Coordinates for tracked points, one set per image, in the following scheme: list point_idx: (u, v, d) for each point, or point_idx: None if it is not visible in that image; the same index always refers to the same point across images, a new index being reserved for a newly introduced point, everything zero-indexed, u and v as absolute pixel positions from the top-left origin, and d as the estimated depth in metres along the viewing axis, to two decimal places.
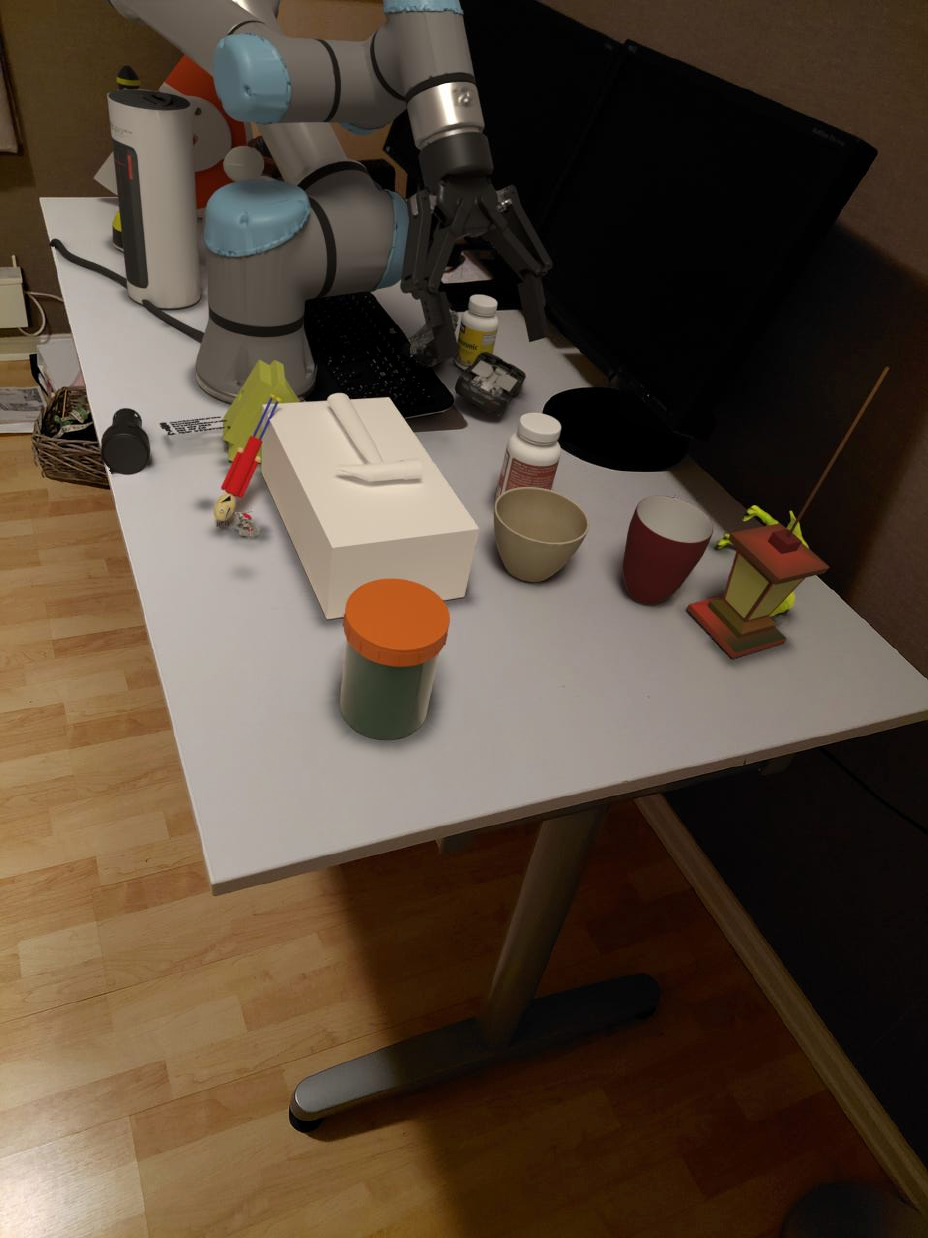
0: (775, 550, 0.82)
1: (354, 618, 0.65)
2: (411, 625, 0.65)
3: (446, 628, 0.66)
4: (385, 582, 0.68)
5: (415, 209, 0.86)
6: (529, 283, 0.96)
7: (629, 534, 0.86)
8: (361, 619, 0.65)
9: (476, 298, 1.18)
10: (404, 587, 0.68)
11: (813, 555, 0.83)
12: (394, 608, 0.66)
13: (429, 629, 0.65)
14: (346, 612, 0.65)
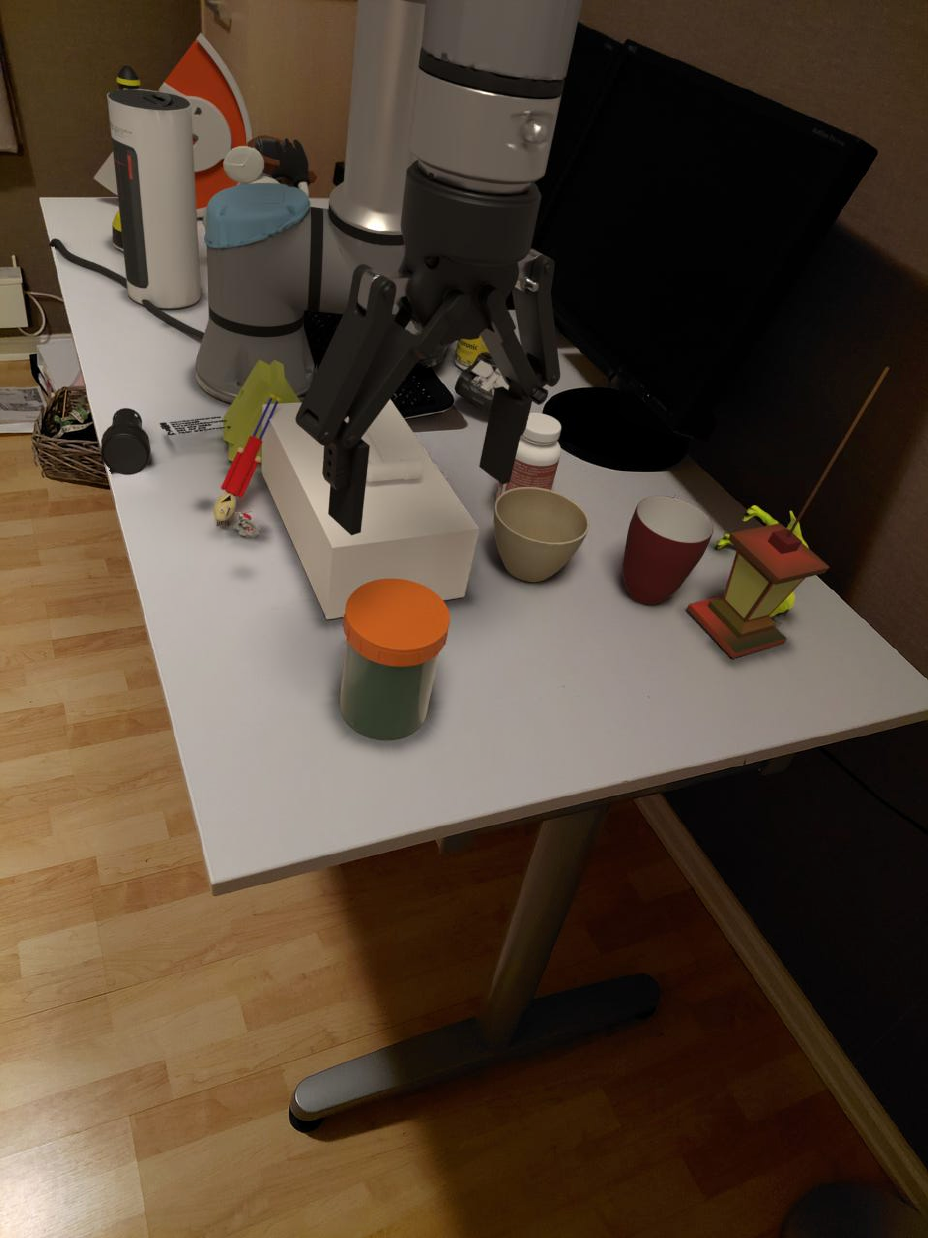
0: (775, 550, 0.82)
1: (354, 618, 0.65)
2: (411, 625, 0.65)
3: (446, 628, 0.66)
4: (385, 582, 0.68)
5: (363, 302, 0.46)
6: (512, 405, 0.59)
7: (629, 534, 0.86)
8: (361, 619, 0.65)
9: None
10: (404, 587, 0.68)
11: (813, 555, 0.83)
12: (394, 608, 0.66)
13: (429, 629, 0.65)
14: (346, 612, 0.65)
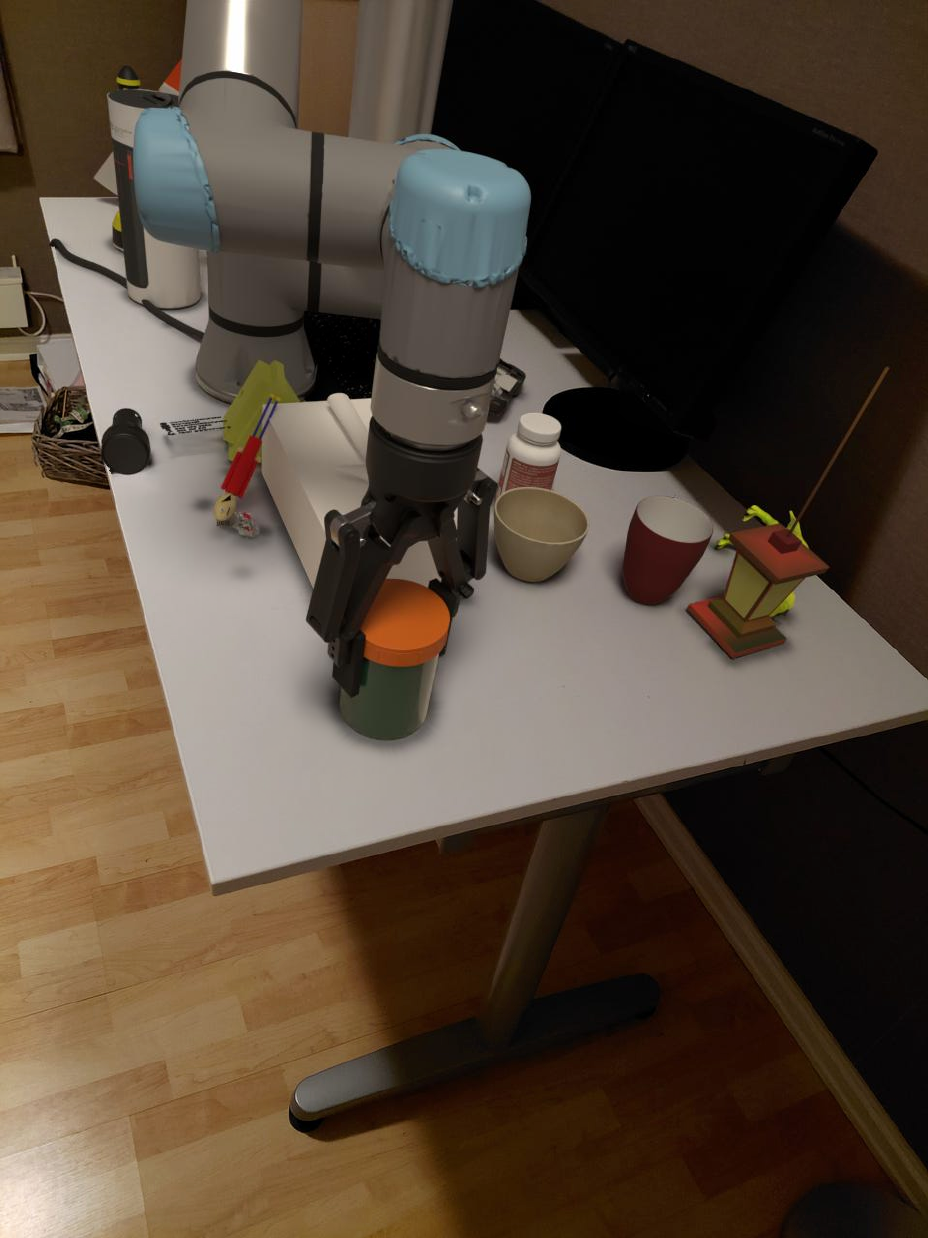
0: (775, 550, 0.82)
1: None
2: (411, 625, 0.65)
3: (446, 628, 0.66)
4: (385, 582, 0.68)
5: (336, 543, 0.56)
6: (443, 598, 0.68)
7: (629, 534, 0.86)
8: None
9: None
10: (404, 587, 0.68)
11: (813, 555, 0.83)
12: (394, 608, 0.66)
13: (429, 629, 0.65)
14: None
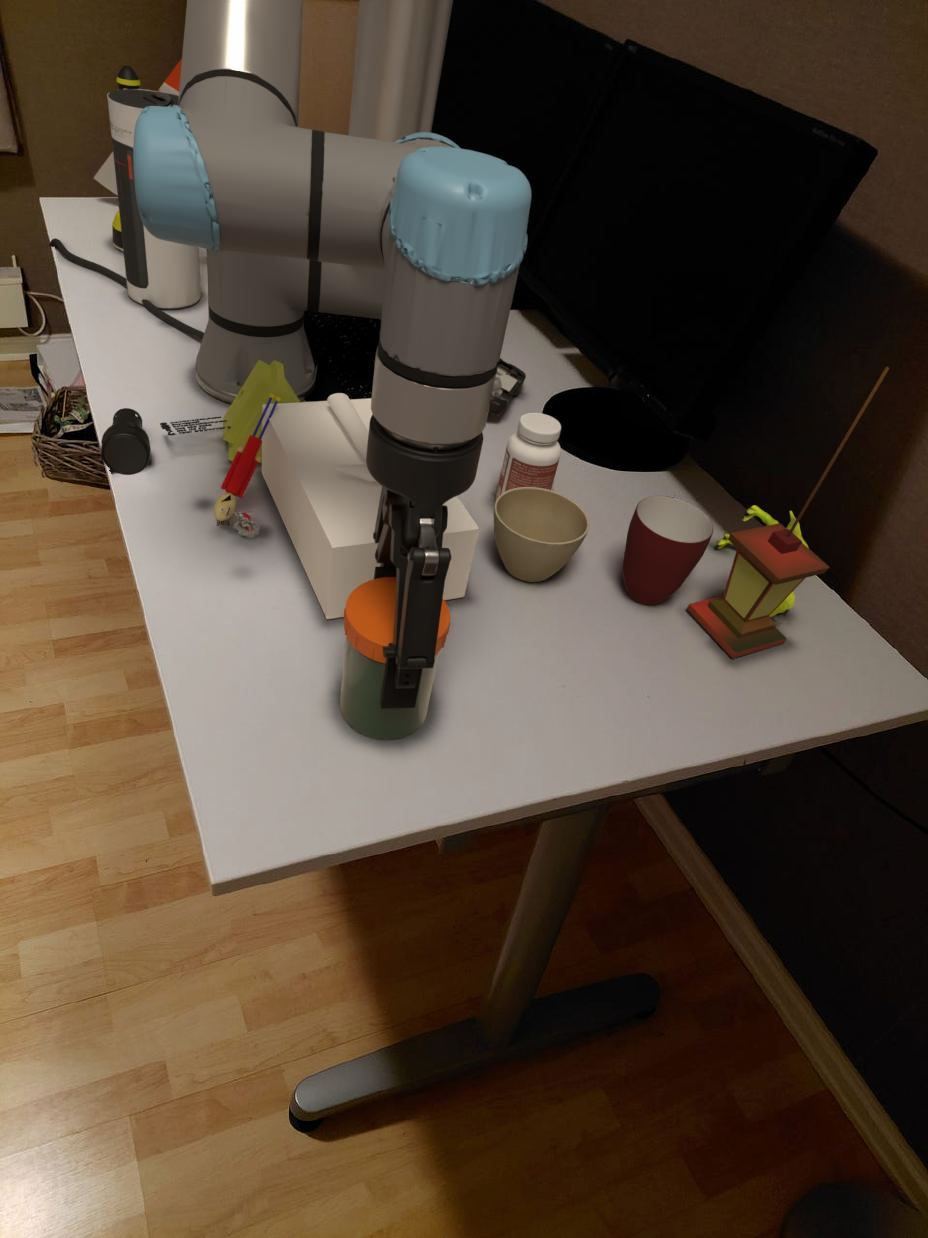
0: (775, 549, 0.82)
1: (389, 641, 0.63)
2: None
3: None
4: (352, 600, 0.66)
5: (431, 574, 0.55)
6: None
7: (629, 534, 0.86)
8: None
9: None
10: (367, 591, 0.67)
11: (813, 555, 0.83)
12: (392, 610, 0.66)
13: None
14: (378, 643, 0.63)
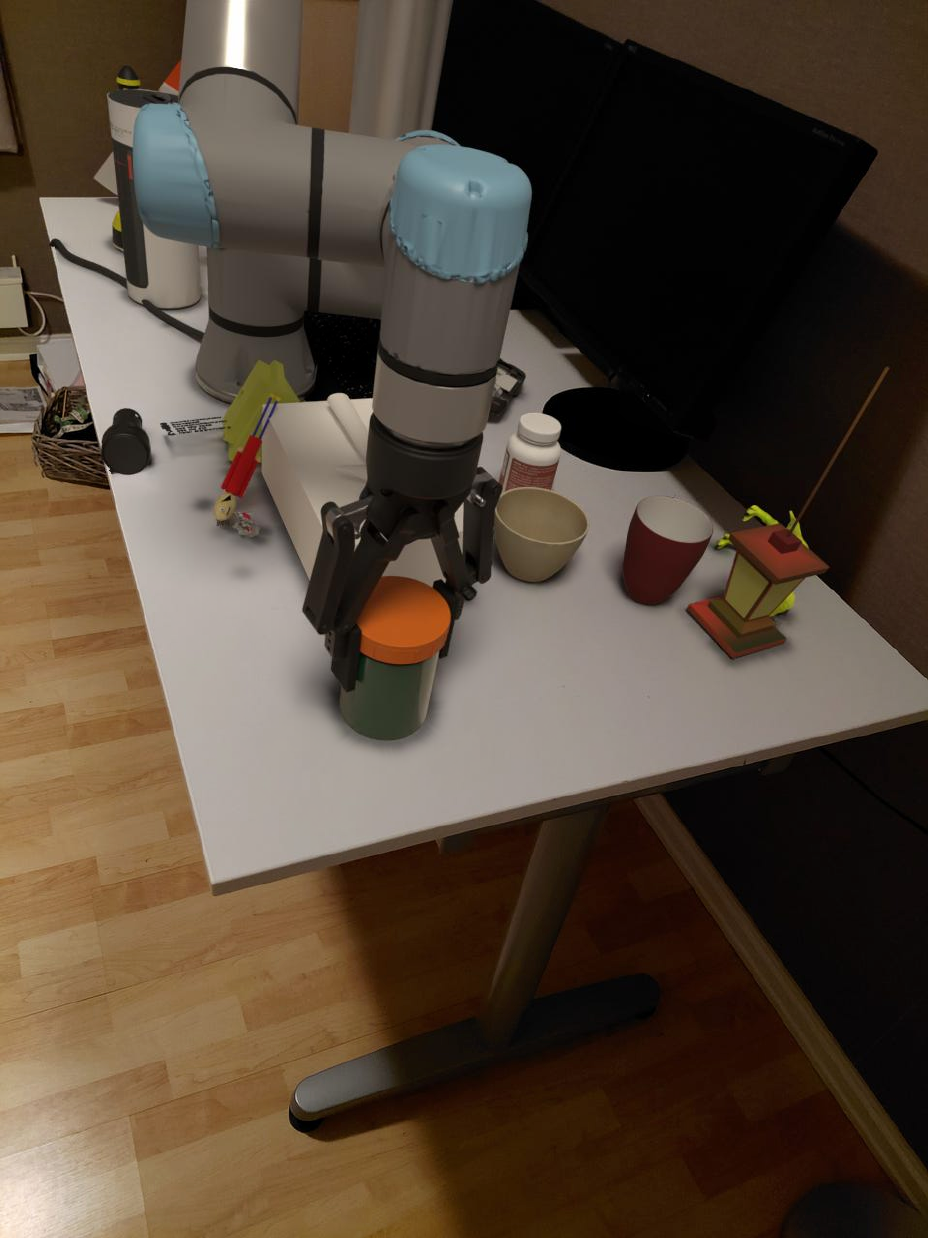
0: (775, 549, 0.82)
1: (442, 606, 0.67)
2: (387, 596, 0.67)
3: None
4: (408, 642, 0.63)
5: None
6: None
7: (629, 534, 0.86)
8: (435, 605, 0.67)
9: None
10: (387, 635, 0.63)
11: (813, 555, 0.83)
12: (401, 613, 0.66)
13: None
14: (449, 613, 0.67)
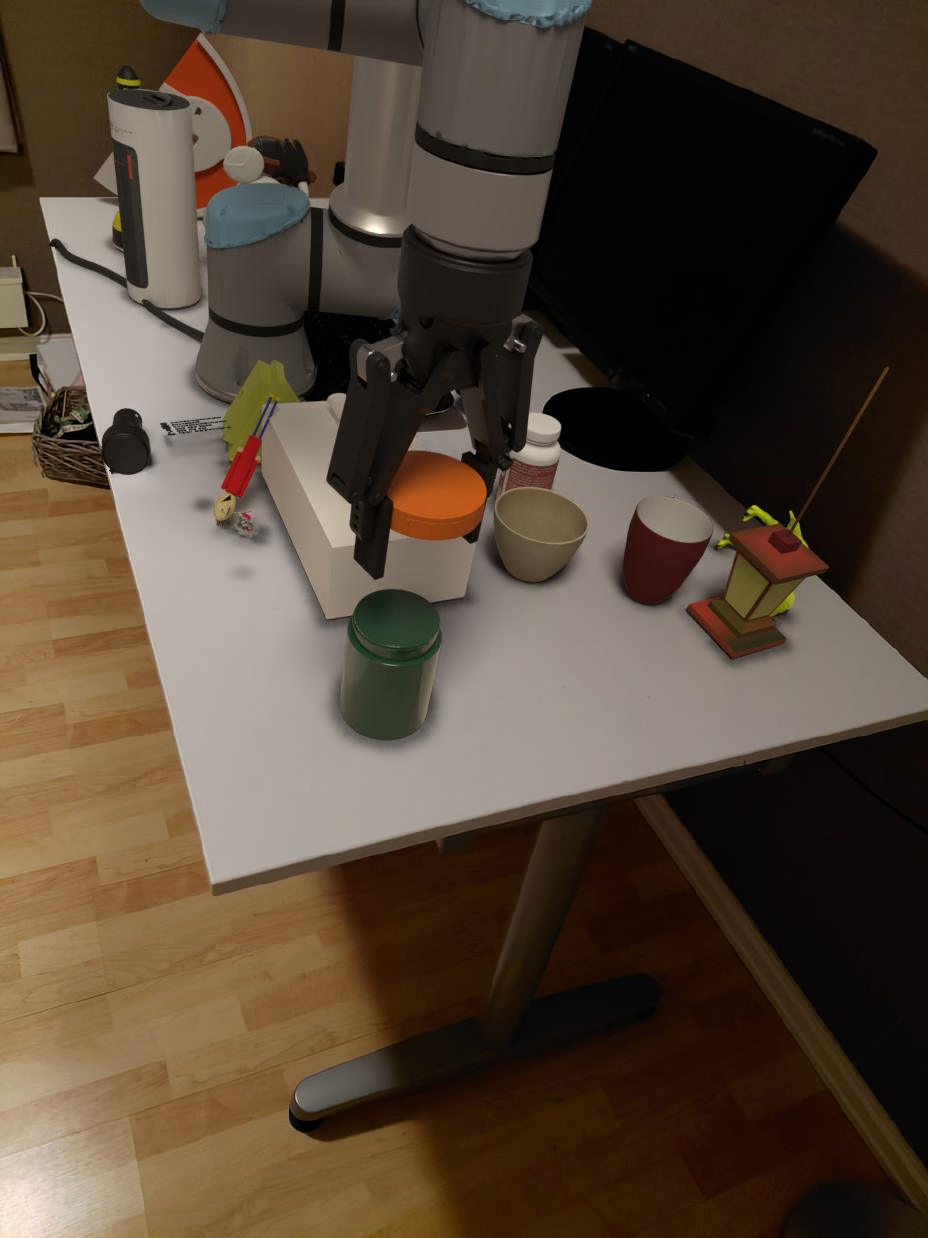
0: (775, 549, 0.82)
1: (475, 479, 0.60)
2: (414, 469, 0.59)
3: None
4: (445, 514, 0.56)
5: None
6: None
7: (629, 534, 0.86)
8: (467, 477, 0.60)
9: None
10: (422, 507, 0.56)
11: (813, 555, 0.83)
12: (433, 486, 0.58)
13: None
14: (484, 485, 0.60)
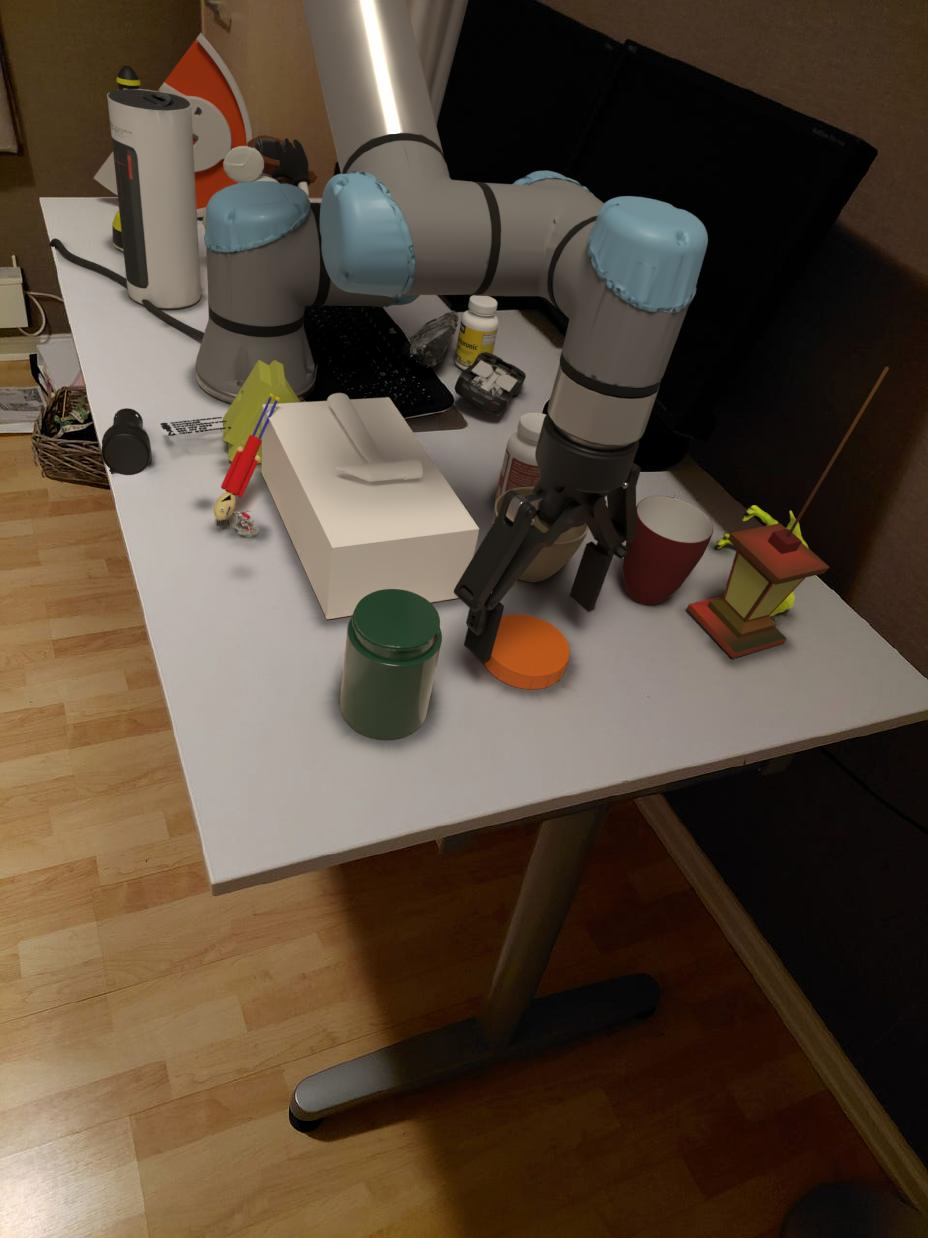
0: (775, 549, 0.82)
1: (560, 638, 0.81)
2: (515, 632, 0.80)
3: None
4: (543, 671, 0.77)
5: None
6: None
7: None
8: (554, 637, 0.81)
9: (476, 298, 1.18)
10: (525, 666, 0.77)
11: (813, 555, 0.83)
12: (530, 647, 0.79)
13: (500, 629, 0.80)
14: (567, 643, 0.81)
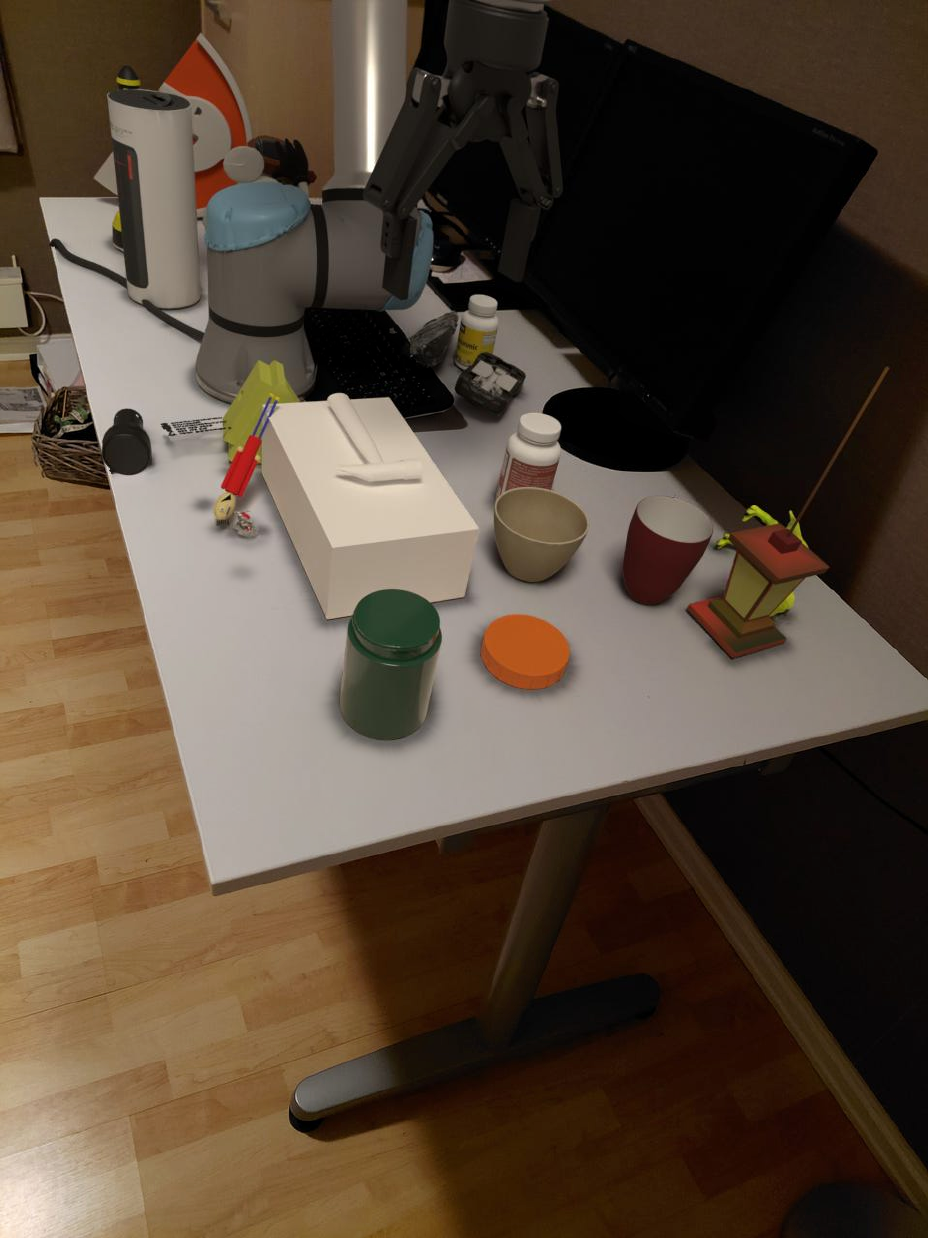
0: (775, 549, 0.82)
1: (560, 638, 0.81)
2: (515, 632, 0.80)
3: (487, 630, 0.80)
4: (543, 671, 0.77)
5: None
6: None
7: (629, 534, 0.86)
8: (554, 637, 0.81)
9: (476, 298, 1.18)
10: (525, 666, 0.77)
11: (813, 555, 0.83)
12: (530, 647, 0.79)
13: (500, 629, 0.80)
14: (567, 643, 0.81)
